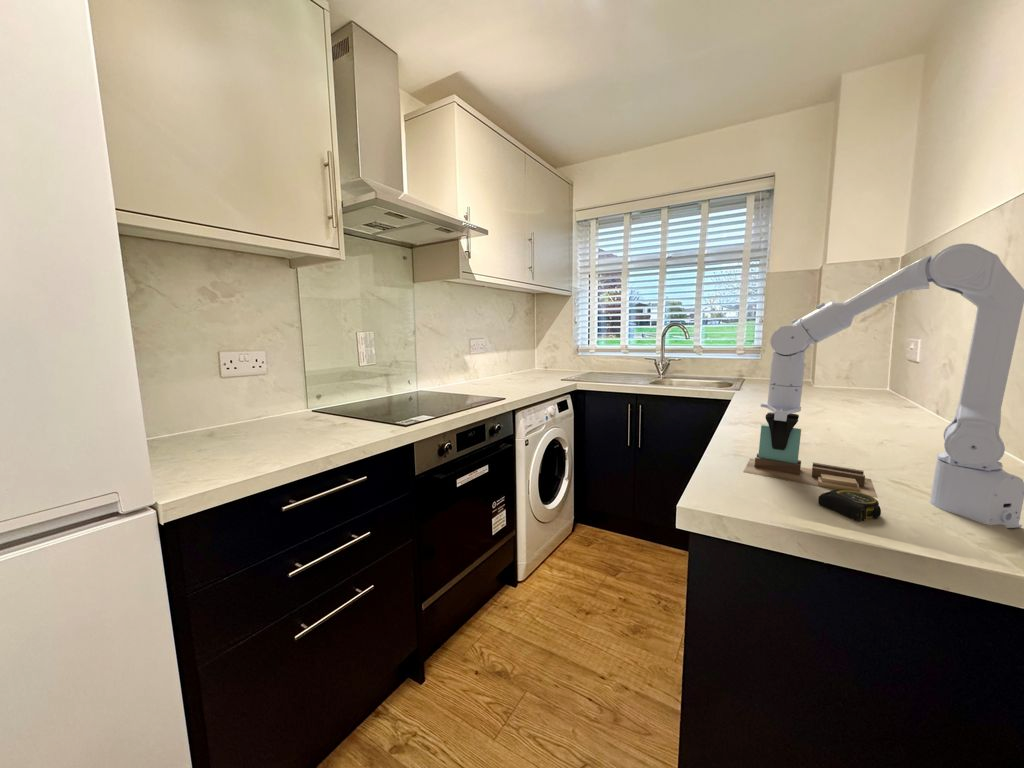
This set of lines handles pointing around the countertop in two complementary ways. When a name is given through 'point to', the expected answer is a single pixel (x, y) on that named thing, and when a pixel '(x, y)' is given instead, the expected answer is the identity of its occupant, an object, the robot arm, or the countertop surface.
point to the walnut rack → (806, 473)
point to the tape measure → (851, 504)
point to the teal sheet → (781, 455)
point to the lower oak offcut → (837, 486)
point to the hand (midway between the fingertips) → (778, 448)
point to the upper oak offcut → (839, 480)
